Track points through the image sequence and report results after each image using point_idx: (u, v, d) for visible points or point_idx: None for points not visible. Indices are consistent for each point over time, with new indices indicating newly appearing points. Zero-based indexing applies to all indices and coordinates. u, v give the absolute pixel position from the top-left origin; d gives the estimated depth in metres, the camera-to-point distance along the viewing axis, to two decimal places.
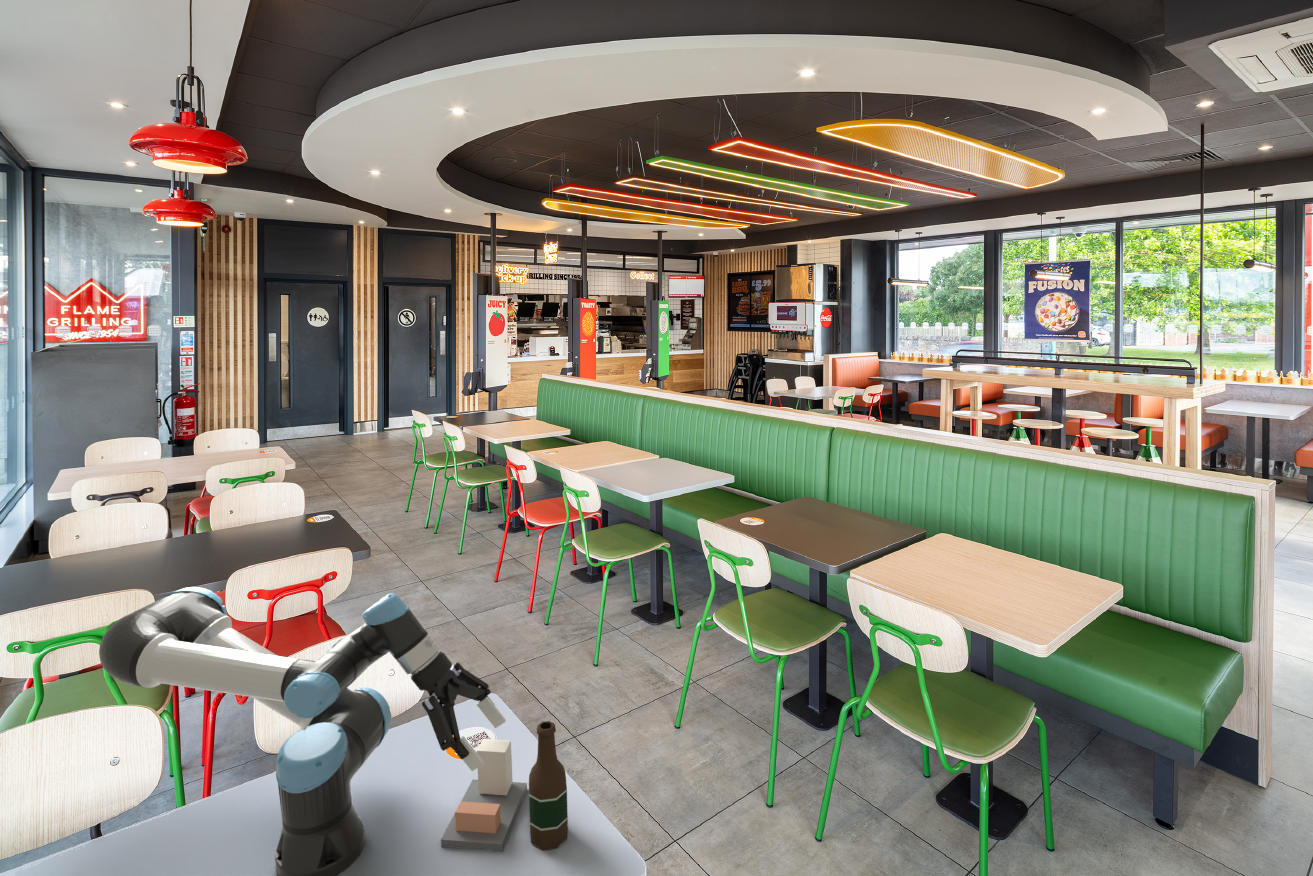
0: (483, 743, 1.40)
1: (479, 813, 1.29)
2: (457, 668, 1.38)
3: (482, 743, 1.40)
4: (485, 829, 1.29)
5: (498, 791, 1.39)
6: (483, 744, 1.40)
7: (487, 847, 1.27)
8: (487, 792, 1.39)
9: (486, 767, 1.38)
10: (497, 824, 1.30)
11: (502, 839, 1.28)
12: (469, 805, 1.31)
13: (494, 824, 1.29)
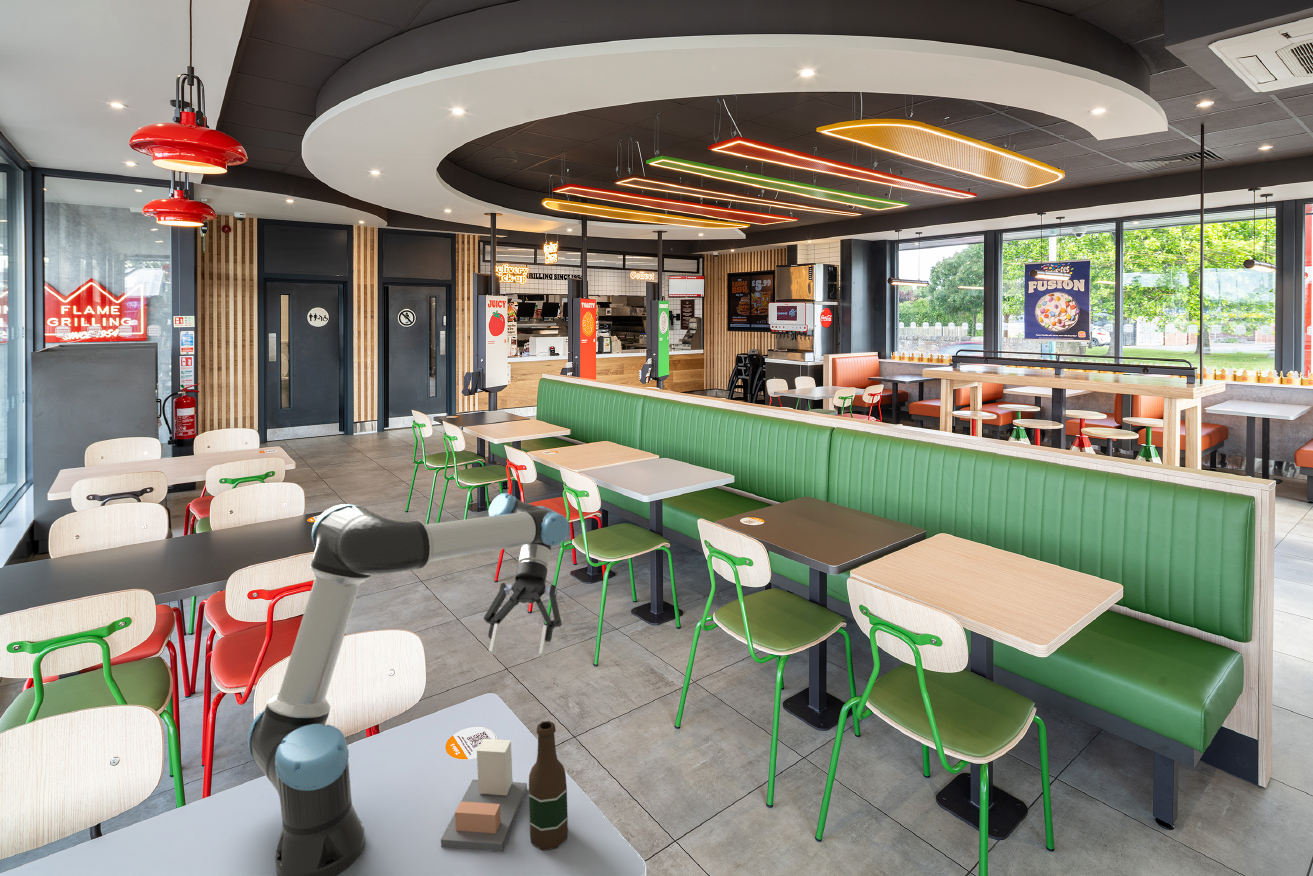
0: (483, 743, 1.40)
1: (479, 813, 1.29)
2: None
3: (482, 743, 1.40)
4: (485, 829, 1.29)
5: (498, 791, 1.39)
6: (483, 744, 1.40)
7: (487, 847, 1.27)
8: (487, 792, 1.39)
9: (486, 767, 1.38)
10: (497, 824, 1.30)
11: (502, 839, 1.28)
12: (469, 805, 1.31)
13: (494, 824, 1.29)
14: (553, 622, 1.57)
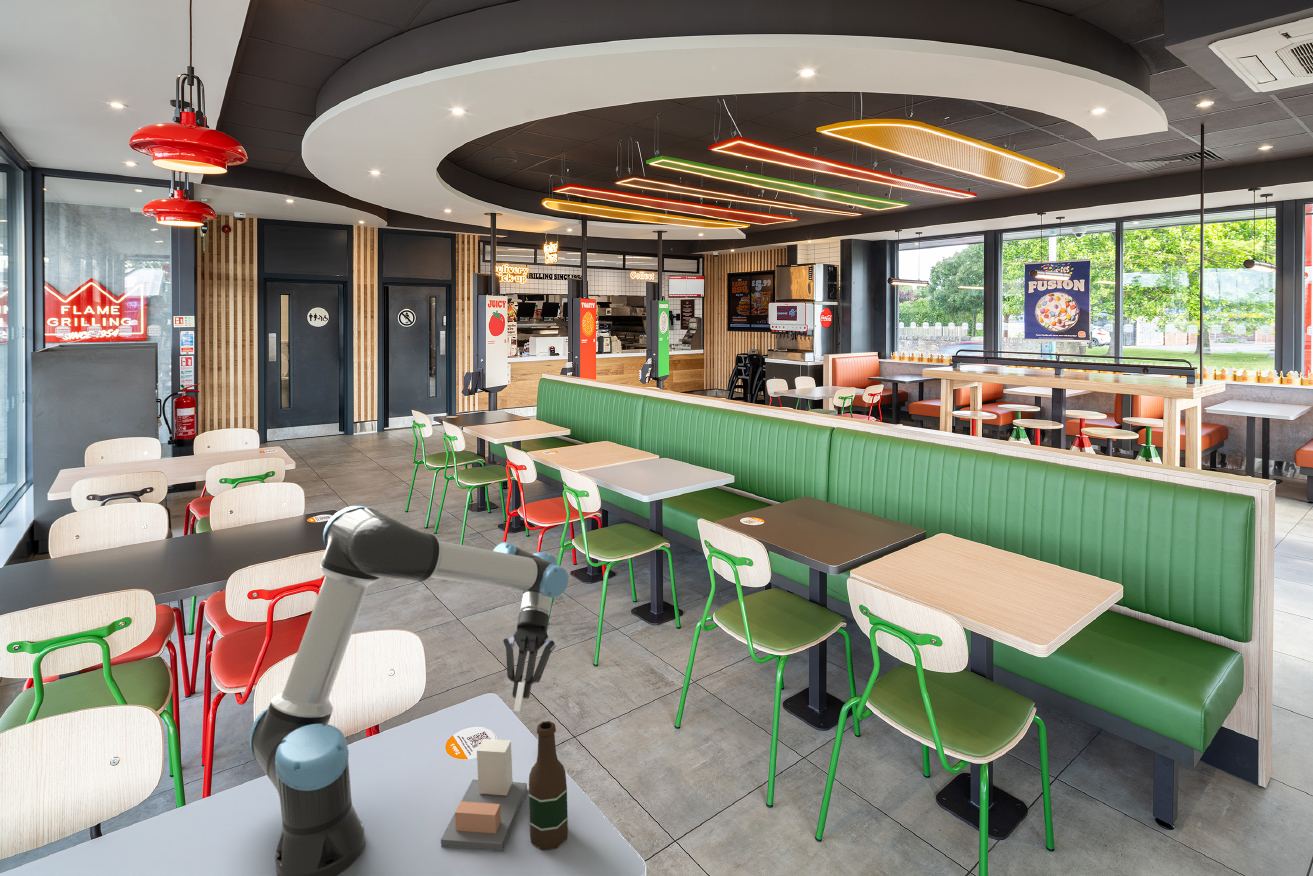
0: (483, 743, 1.40)
1: (479, 813, 1.29)
2: None
3: (482, 743, 1.40)
4: (485, 829, 1.29)
5: (498, 791, 1.39)
6: (483, 744, 1.40)
7: (487, 847, 1.27)
8: (487, 792, 1.39)
9: (486, 767, 1.38)
10: (497, 824, 1.30)
11: (502, 839, 1.28)
12: (469, 805, 1.31)
13: (494, 824, 1.29)
14: (531, 678, 1.57)
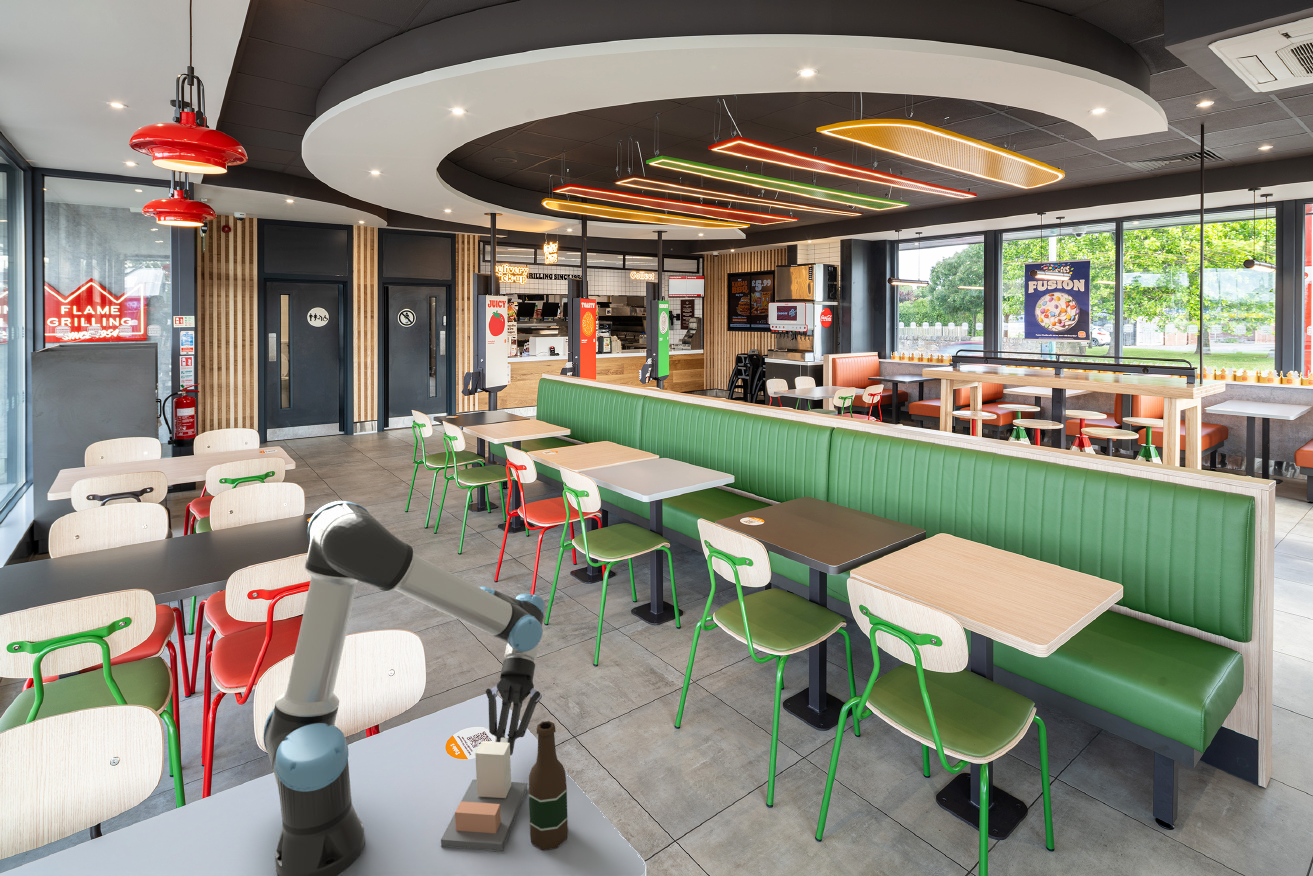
0: (482, 745, 1.39)
1: (479, 813, 1.29)
2: None
3: (481, 745, 1.39)
4: (485, 829, 1.29)
5: (497, 794, 1.38)
6: (481, 747, 1.39)
7: (487, 847, 1.27)
8: (486, 795, 1.38)
9: (484, 770, 1.37)
10: (497, 824, 1.30)
11: (502, 839, 1.28)
12: (469, 805, 1.31)
13: (494, 824, 1.29)
14: (515, 733, 1.47)
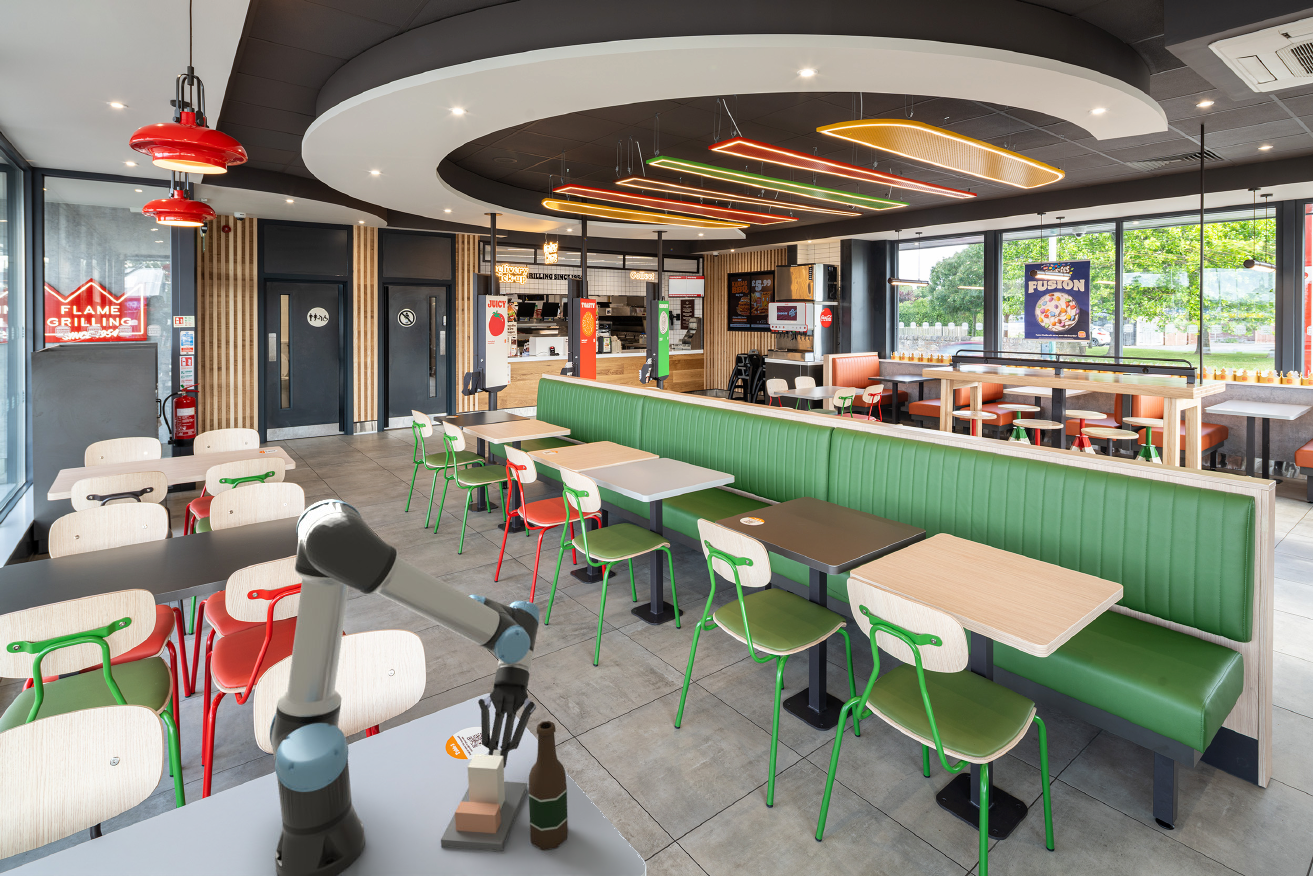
0: (475, 759, 1.35)
1: (479, 813, 1.29)
2: None
3: (473, 759, 1.35)
4: (485, 829, 1.29)
5: None
6: (474, 760, 1.35)
7: (487, 847, 1.27)
8: None
9: (477, 785, 1.33)
10: (497, 824, 1.30)
11: (502, 839, 1.28)
12: (469, 805, 1.31)
13: (494, 824, 1.29)
14: (508, 745, 1.42)
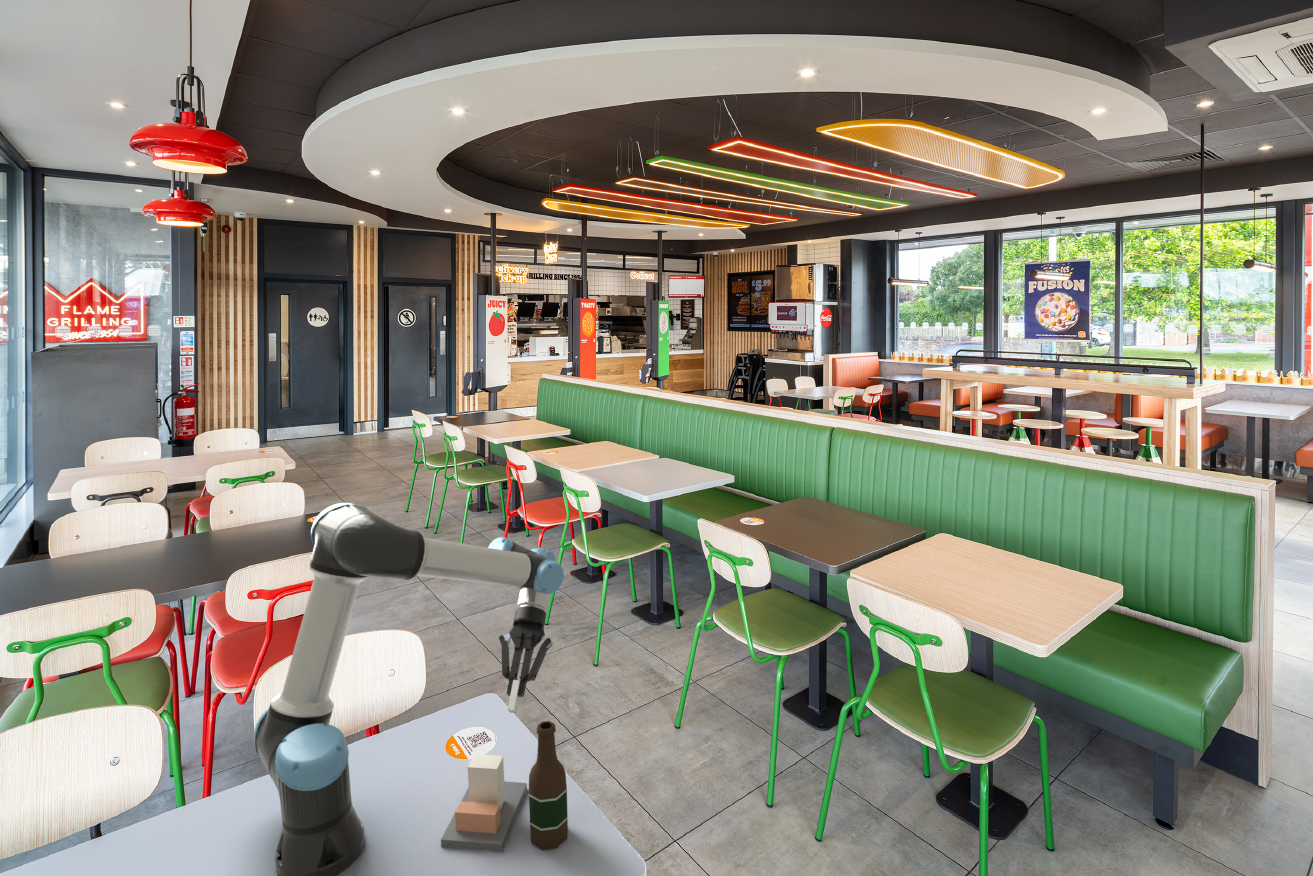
0: (475, 759, 1.35)
1: (479, 813, 1.29)
2: None
3: (473, 759, 1.35)
4: (485, 829, 1.29)
5: None
6: (474, 760, 1.35)
7: (487, 847, 1.27)
8: None
9: (477, 785, 1.33)
10: (497, 824, 1.30)
11: (502, 839, 1.28)
12: (469, 805, 1.31)
13: (494, 824, 1.29)
14: (527, 676, 1.53)
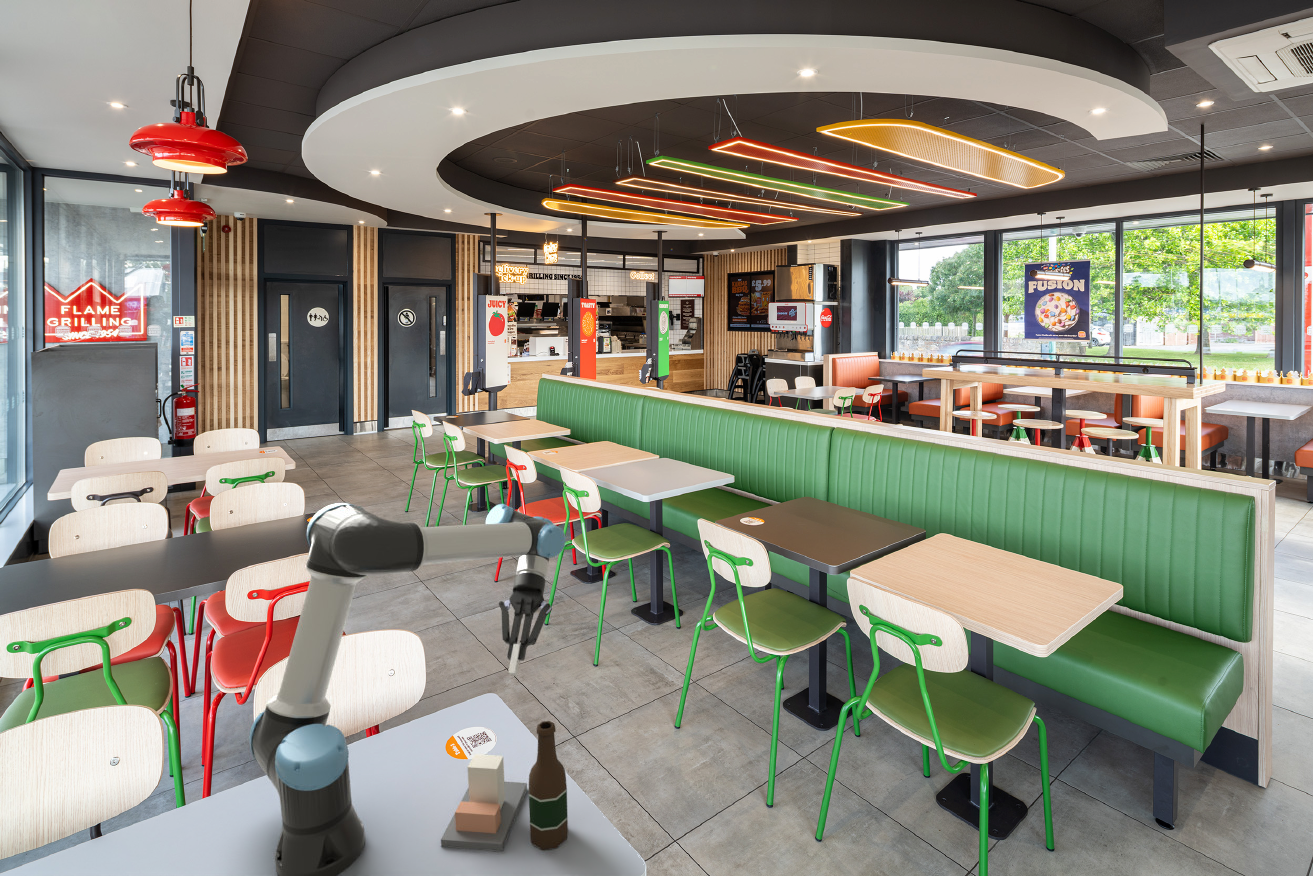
0: (475, 759, 1.35)
1: (479, 813, 1.29)
2: None
3: (473, 759, 1.35)
4: (485, 829, 1.29)
5: None
6: (474, 760, 1.35)
7: (487, 847, 1.27)
8: None
9: (477, 785, 1.33)
10: (497, 824, 1.30)
11: (502, 839, 1.28)
12: (469, 805, 1.31)
13: (494, 824, 1.29)
14: (527, 640, 1.55)
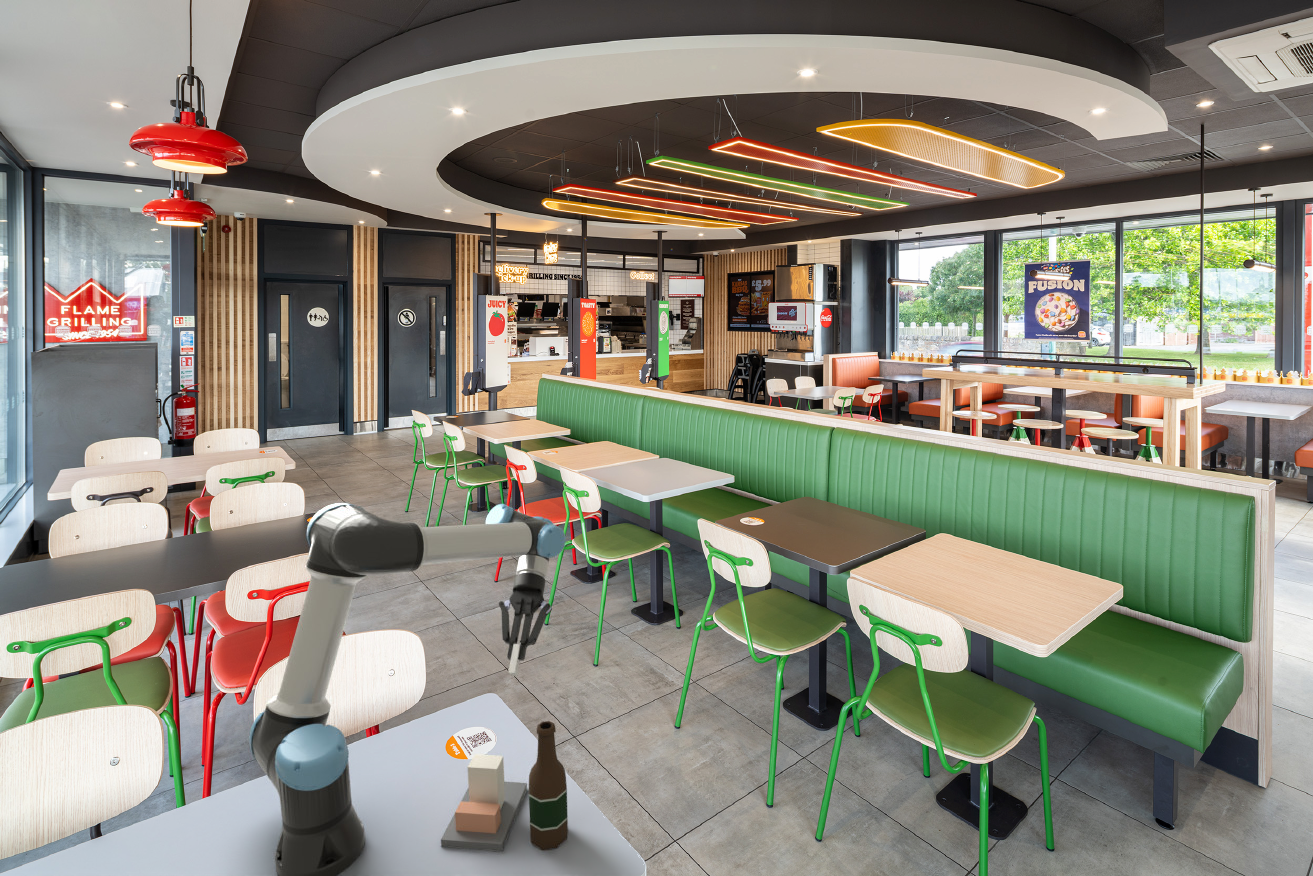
0: (475, 759, 1.35)
1: (479, 813, 1.29)
2: None
3: (473, 759, 1.35)
4: (485, 829, 1.29)
5: None
6: (474, 760, 1.35)
7: (487, 847, 1.27)
8: None
9: (477, 785, 1.33)
10: (497, 824, 1.30)
11: (502, 839, 1.28)
12: (469, 805, 1.31)
13: (494, 824, 1.29)
14: (527, 640, 1.55)
